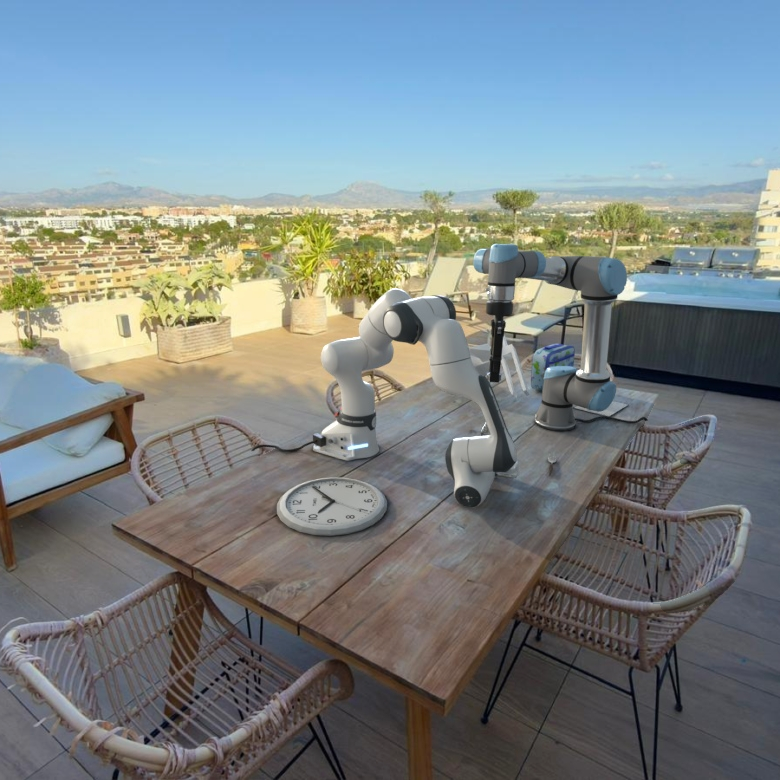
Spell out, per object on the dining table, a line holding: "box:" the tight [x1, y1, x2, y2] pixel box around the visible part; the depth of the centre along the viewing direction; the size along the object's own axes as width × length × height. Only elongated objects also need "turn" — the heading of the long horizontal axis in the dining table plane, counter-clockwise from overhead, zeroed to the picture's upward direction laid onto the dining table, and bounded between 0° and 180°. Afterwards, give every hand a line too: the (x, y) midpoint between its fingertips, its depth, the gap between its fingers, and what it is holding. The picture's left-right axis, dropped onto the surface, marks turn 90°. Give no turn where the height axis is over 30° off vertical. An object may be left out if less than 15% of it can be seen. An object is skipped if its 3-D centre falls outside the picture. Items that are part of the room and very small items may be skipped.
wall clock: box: [276, 476, 388, 537], centre depth 142 cm, size 30×2×30 cm
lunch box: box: [530, 343, 576, 391], centre depth 249 cm, size 26×11×21 cm, turn 134°
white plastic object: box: [468, 333, 531, 400], centre depth 245 cm, size 37×45×31 cm
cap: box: [486, 372, 502, 382], centre depth 155 cm, size 4×4×2 cm
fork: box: [547, 451, 558, 477], centre depth 168 cm, size 3×16×2 cm, turn 160°
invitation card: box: [573, 400, 629, 417], centre depth 226 cm, size 21×1×15 cm
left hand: (488, 453), depth 163 cm, fingers closed on bottle, 5 cm apart
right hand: (493, 379), depth 155 cm, fingers closed on cap, 4 cm apart
